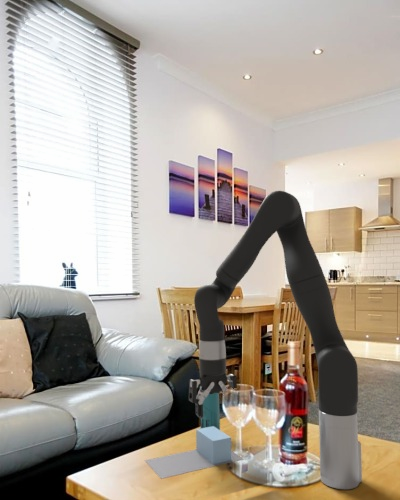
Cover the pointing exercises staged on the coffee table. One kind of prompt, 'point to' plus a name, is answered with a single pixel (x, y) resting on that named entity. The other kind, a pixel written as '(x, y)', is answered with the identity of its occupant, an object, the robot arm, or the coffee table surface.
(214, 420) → the beverage bottle
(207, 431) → the pale blue upright block
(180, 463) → the stub board
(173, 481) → the coffee table surface
